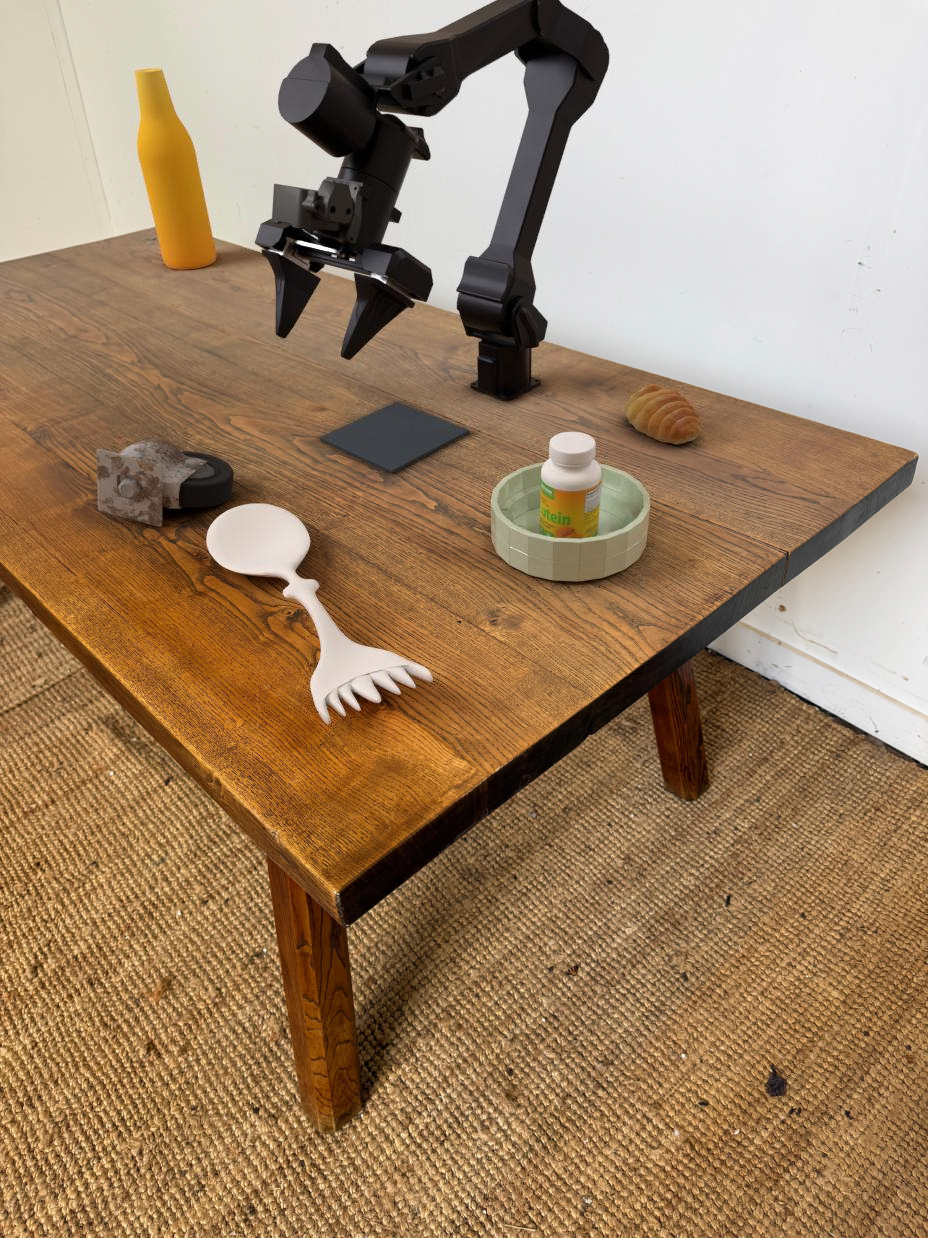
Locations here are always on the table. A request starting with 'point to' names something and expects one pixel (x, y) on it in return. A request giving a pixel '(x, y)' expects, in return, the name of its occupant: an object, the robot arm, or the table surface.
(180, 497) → the caster wheel
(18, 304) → the table surface
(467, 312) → the robot arm
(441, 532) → the table surface
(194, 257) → the beer bottle
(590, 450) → the supplement bottle
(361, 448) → the mat
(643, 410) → the pastry
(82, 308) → the table surface
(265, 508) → the spoon
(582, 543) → the bowl
